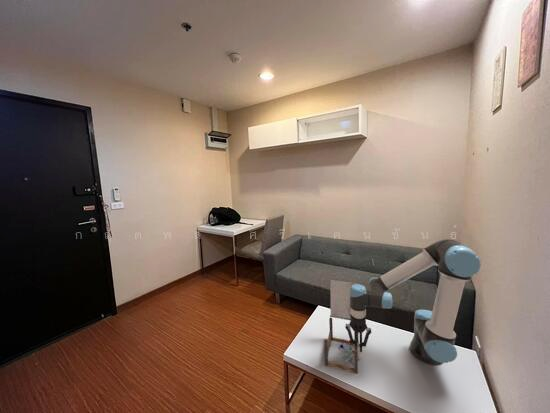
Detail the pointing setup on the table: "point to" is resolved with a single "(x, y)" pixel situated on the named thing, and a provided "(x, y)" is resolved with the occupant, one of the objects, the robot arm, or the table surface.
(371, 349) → the table surface
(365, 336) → the robot arm
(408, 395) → the table surface
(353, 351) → the molecular model
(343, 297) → the lid
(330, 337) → the housing
